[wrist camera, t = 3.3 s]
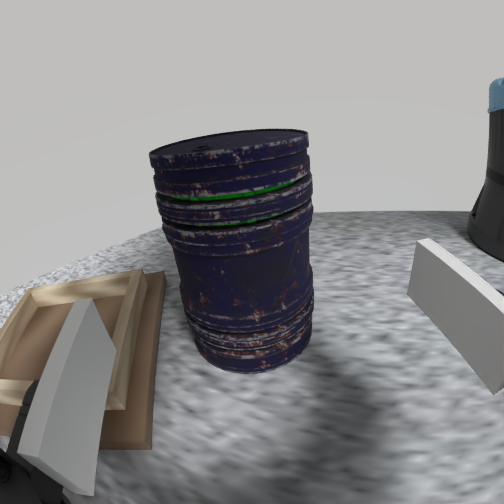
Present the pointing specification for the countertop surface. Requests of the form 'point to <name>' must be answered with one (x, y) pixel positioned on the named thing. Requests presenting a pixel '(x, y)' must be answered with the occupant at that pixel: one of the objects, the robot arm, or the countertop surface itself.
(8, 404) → the base board
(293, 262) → the dark blue barrel
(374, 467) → the countertop surface
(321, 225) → the countertop surface
